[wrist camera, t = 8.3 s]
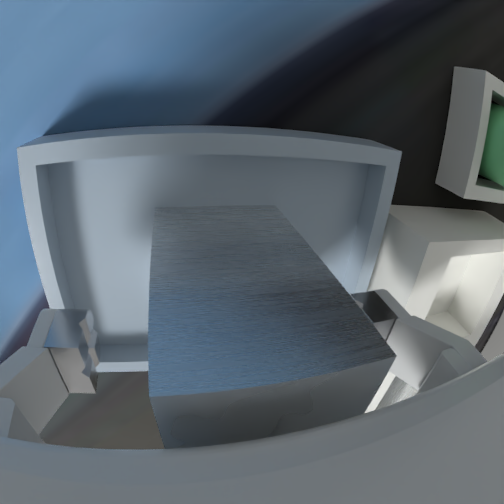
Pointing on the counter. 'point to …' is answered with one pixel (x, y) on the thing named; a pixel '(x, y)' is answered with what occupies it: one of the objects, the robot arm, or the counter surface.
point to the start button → (494, 147)
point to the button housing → (469, 135)
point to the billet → (251, 330)
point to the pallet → (441, 269)
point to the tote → (184, 195)
